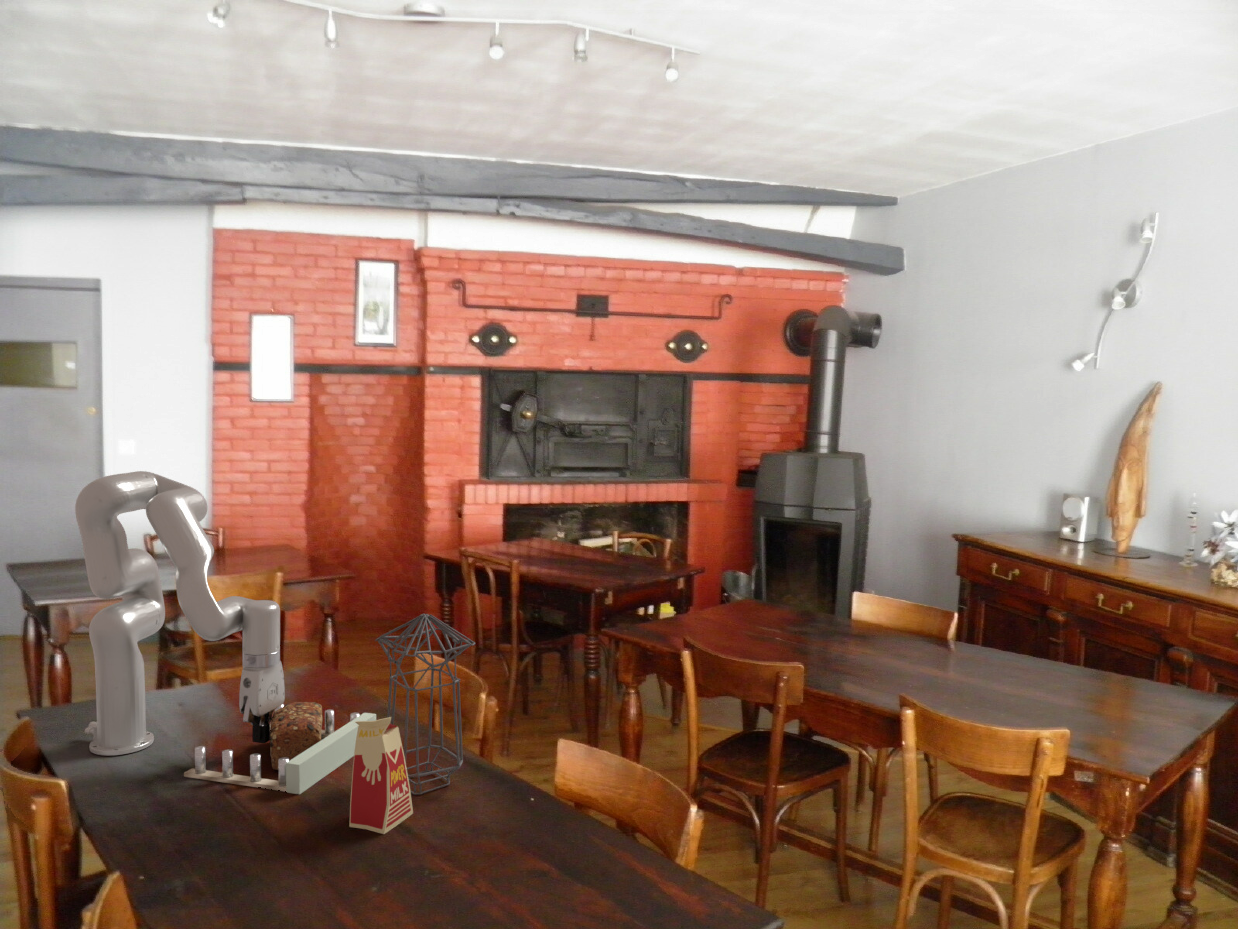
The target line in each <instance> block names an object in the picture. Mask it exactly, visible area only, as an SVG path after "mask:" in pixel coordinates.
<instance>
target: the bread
mask: <svg viewBox="0 0 1238 929" xmlns="http://www.w3.org/2000/svg"><path fill="white" fill-rule="evenodd" d="M270 724H271V725H270V726H271V731H270V740H269V749H270V750H269V751H270V754H269V755H270V756H269V757H271V759H270V760H271V767H272V770H275V771H279V765H278V760H279V759H280V758H283V757H288V758H289V761H290V760H291V759H293V758H295V757H296V756H298V755H299V754H301V753H302V752H304V751H305V750H307V749H309V748H310V747H312V746H313V745H315V744H316V743H318V742H319V741H321V740H322V738H321V730H323V729H322V727H323V706H322V704H320V703H318V702H309V701H295V702H287V703H286V704H284V706H283V707H282V708H280V709H278V710H276V711H275V710H274V711H273V714H272V720H271V722H270Z"/></svg>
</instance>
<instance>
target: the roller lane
mask: <svg viewBox="0 0 1238 929" xmlns="http://www.w3.org/2000/svg"><path fill="white" fill-rule="evenodd" d="M283 706H285V704H284V703H283V704H282V705H281V706H279V707H277V708H276V709H275V710H274V712H275V711H276V710H278V709H280V708H282V707H283ZM349 717H350V719H349V720H350V721H349V722H347V723H346V724H345V725H343V726H341V727H340V728H338V729H336V730H335V710H334V709H327V710H326V709H325V710H324V729H321V741H319V742H318V743H316V744H315V745H313V746H312V747H310V748H309V749H307V750H305V751H304V752H302V753H301V754H299V755H298V756H296V757H295V758H293V759H291V760H290V761H289V758H288V757H283V758H280V759H279V760H278V765H279V770H278V780H276V779H269V778H262V758H261V757H262V754H261V753H259V752H258V753H252V754H250V755H249V775H250V776H248V775H242V774H234V750H233V749H224V750H222V752H221V757H222V758H221V759H222V760H221V761H222V762H221V764H222V765H221V770H222V771H221V772H220V771H213V770H207V767H206V766H207V765H206V764H207V762H206V761H207V760H206V746H205V745H198V746H195V747H194V767H191V768H189V769H188V770H185V771H184V772H183V777H185V778H189V779H198V780H199V779H200V780H204V781H212V782H218V783H219V782H220V783H225V784H232V785H233V784H234V785H238V786H247V787H251V788H258V787H261V788H260V789H265V788H266V789H267V790H271V789H272V790H273V791H278V790H280V791H279V792H285V791H286V792H287V793H288V794H295V795H301V794H302V793H304V792H305V791H307V790H308V789H310V788H311V787H313V786H314V785H315V784H316V783H318V782H319V781H320V780H322V779H324V777H326V776H328V775H329V774H330V773H331V772H333V771H335V770H336V769H337V768H339V767H340V766H342V765H343V764H345V763H346V762H347V761H350V760H351V759H352V758H354V752H355V743H356V737H357V731H358V726H359V725H358V724H357V723H355V722H356V721H375V720H377V714H376V713H372V712H363V713H362V714H360V713H359V712H351V713H350V716H349ZM270 725H271V723H270ZM270 730H271V726H270Z"/></svg>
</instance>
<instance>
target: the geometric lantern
mask: <svg viewBox="0 0 1238 929" xmlns="http://www.w3.org/2000/svg"><path fill="white" fill-rule="evenodd" d="M407 626H408V627H407ZM435 626H436V627H435ZM405 627H407V628H406V629H404V631H402V633H400V635H392V634H393V633H395V632H397V631H399V630H401V629H403V628H405ZM428 627H429V629H428ZM415 628H416V630H415V631H414V629H415ZM413 631H414V633H413V634H411V633H412V632H413ZM436 631H441V632H442V634H443V636H444V638H445V641H446V643H447V645H448V647H449V648H448V649H445V647H444V644H443V643H442V641H441V640H440V637H439V636H438V634H437V632H436ZM423 635H425V638H424V639H423V640H422V641H421V639H422V636H423ZM432 635H433V636H434V637H435V640H436V642H437V644H438V645H439V646H440V648H441V650H432V649H431V641H430V638H431V636H432ZM408 638H411V640H410V641H409V643H408V644H407V641H408ZM416 638H417V641H416V646H415V647H412V645H413V643H414V641H415V640H416ZM449 638H451V641H452V642H453V647H452V643H451V641H450V640H449ZM391 639H394V640H391ZM399 640H400V641H399ZM374 641H375V642H378V644H379V645H380V647H381V648H382V650H383V651H384V653H385V655H386V656H387V661H388V662H389V685H388V686H389V687H388V697H387V698H388V699H387V700H388V702H387V713H386V714H387V715H386V718H388V717H391V722H390V724H393V725H395V724H394V722H395V721H394V720H395V711H396V698H397V685H399V686H400V687H402V688H403V689H405V690H406V700H405V702H406V703H405V717H404V718H405V719H404V739H403V741H404V742H403V752H404V756H405V762H406V763H407V754H408V753H413V752H415V764H414V765H412V766H411V765H410V766H408V767H406V768H407V771H408V770H411V769H414V768H415V772H416V773H414V774H408V779H409V783H411V784H412V785H413V791H412V789H410V792H411V795H414V796H418V795H424V794H427V793H429V792H431V791H432V792H433V791H435V790H438V789H440V788H444V787H447V786H450V783H451V775H452V774H454V773H455V772H457V771H458V770H459V769H460V768H461V767H462V764H463V762H464V754H463V753H464V751H463V735H462V734H463V732H462V730H463V729H462V712H461V711H462V707H461V688H460V687H461V684H460V682H461V678H458V677H457V656H461V655H462V653H463V652H464V651H465V650H467V649H469V648H470V647H473V646H474V645H476V642H475V641H473V640H472V639H470V638H469V637H467V636H466V635H464V634H462V633H461V632H459V631H458V630H456V629H455V628H453V627H451V626H450V625H448V624H447V623H446V622H445V623H444V621H442V620H440V619H439V618H437V617H436V616H434V615H433V614H428V613H422V614H420V615H418V616H416V617H414V618H413V619H410V620H409V621H407V622H405V623H403V624H401V625H400V626H397V627H395V628H394V629H392V630H389V631H388V632H386V633H383V634H381V635H379V637H377V638H376V639H375V640H374ZM398 641H399V642H398ZM403 643H404V646H403V645H402V644H403ZM425 643H427V650H420V649H421V647H422V646H423V645H424V644H425ZM463 643H465V644H463ZM385 645H387V647H385ZM457 645H459V646H457ZM394 646H395V647H394ZM399 648H400V649H402V650H398V649H399ZM390 649H391V651H390ZM457 650H458V651H457ZM410 651H414V652H413V653H412V654H409V652H410ZM390 652H391V654H392V656H391V655H390ZM395 653H397V654H400V657H398V658H397V659H396V657H395ZM453 653H454V654H453ZM425 654H427V655H429V656H430V660H431V662H429V661H428V659H427V658H426V657H425V656H424V655H425ZM437 654H438V655H439V654H444V661H443V662H439V663H436V664H434V655H437ZM452 654H453V655H452ZM420 655H421V656H420ZM405 657H413V658H415V657H416V658H417V659H418V660H420V661H421V662H423V663H425V664H426V665H428V667H427V668H423V669H418V670H412V671H407V672H403V671H402V669H401V665H402V662H403V658H405ZM452 660H454V675H453V672H452V671H451V668H450V666H449V664H448V663H450V661H452ZM392 663H393V664H394V665H395V666H396V670H395V673H394V674H393V675H392ZM437 667H440V668H437ZM444 667H446V669H447V671H446V670H444V669H443V668H444ZM428 671H430V672H431V673H430V675H431V676H430V687H429V686H428V687H424V688H416V687H417V685H418V684H419V683H420V681H421V680H422V679H423V677H424V676H425V674H427V672H428ZM420 672H423V673H422V674H421V676H420V677H419V678H418V680H417V682H416V683H415V684H414V686H413V687H410V686H409V684H408V682H407V680H406V677H405V675H410V674H415V673H420ZM435 672H438V685H434V683H435V682H434V680H435V675H434V674H435ZM442 673H443V674H445V675H447V676H449V677H450V679H451V681H452V682H450V683H444V684H443V682H442V680H443V679H442ZM398 676H400V677H401V679H402V681H403V683H404V684H402V683H400V682H399V681H398ZM447 686H452V701H453V702H452V704H453V716H454V732H455V734H454V735H455V749H456V750H455V752H456V754H455V753H453V752H452V751H450V750H449V749H447V748H446V747H444V726H443V725H444V723H443V720H444V718H443V687H447ZM436 688H438V692H439V693H438V696H439V697H438V698H439V732H440V734H439V735H440V737H439V738H440V745H436V744H435V745H434V744H432V730H433V729H432V726H433V724H432V723H433V706H434V705H433V704H434V702H433V700H434V699H433V698H434V689H436ZM429 689H430V694H429V695H430V698H429V716H428V717H429V721H428V723H429V724H428V739H427V740H428V741H427V745H423V746H419V719H418V717H419V715H418V710H419V709H418V705H419V704H418V692H421V691H426V690H429ZM392 690H393V693H392ZM456 690H457V691H456ZM410 691H411V692H414V728H415V730H414V733H415V736H414V737H415V748H412V749H408V732H409V730H408V729H409V728H408V727H409V713H410V712H409V710H410V709H409V707H410ZM456 692H457V694H456ZM392 694H393V696H392ZM456 696H457V698H456ZM391 706H392V707H391ZM431 748H432V749H438V751H437V753H436V755H435V756H434V757H433V760H432V761H431V762H430V750H431ZM425 749H427V756H426V761H425V762H422V763H420V762H419V761H420V760H419V757H420V756H419V751H420V750H425ZM442 751H444V752H445V753H447V754H448V755H450V756H452V757H453V758H455V759H456V765H453V766H449V767H444V768H443V767H441V766H439V765H438V764H437V763H434V762H435V761H436V760H437V758H438V756H439V754H440V752H442ZM424 765H425V770H423V771H420V766H424ZM428 765H430V769H429V768H428ZM434 767H436V768H438V769H436V770H434ZM443 772H445V773H446V774H444V775H442V774H440V773H443ZM434 774H435V775H436V776H437V777H434V778H430V779H425V780H423V781H421V780H420V777H421V778H422V777H425V776H429V775H430V776H431V775H434ZM411 778H417V782H415V781H413V780H412V779H411ZM439 779H440V780H441V779H442V780H444V781H446V783H445V784H442V785H438V786H436V787H432V788H430V789H428V790H427V789H426V790H423V791H422V787H423V786H422V784H426V783H428V782H432V781H435V780H436V781H437V780H439ZM417 786H419V792H417Z"/></svg>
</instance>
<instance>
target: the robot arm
mask: <svg viewBox="0 0 1238 929" xmlns="http://www.w3.org/2000/svg"><path fill="white" fill-rule="evenodd" d="M74 510H75V512H74V513H75V518H76V522H77V525H78V529H79V532H80V533H79V534H80V537H81V542H82V549H83V556H84V562H85V567H86V575H87V580H88V584H89V588H90V590H91V592H92V593H93V595H94V596H95V597H97V598H99V599H102V600H110V599H111V600H112V599H116V598H119V597H121V599H122V600H121V601H119V602H118V601H117V603H116V602H115V603H113V604H110V605H108V606H105V607H104V608H102V609H100V610H98V612H96V614H94V616H93V617H92V619H91V620H90V623H89V627H88V633H89V634H88V636H89V640H90V644H91V648H92V652H93V659H94V670H95V671H94V674H95V675H94V676H95V679H94V680H95V703H96V721H90V722H89V723H88V727H86V728H85V729H84V733H85V734H86V735H93V740H92V741H90V743H89V751H90V753H93V754H95V755H98V756H109V757H111V756H122V755H127V754H132V753H136V752H139V751H142V750H144V749H146V748H148V747H149V746H151V745H152V744H153V743H154V740H155V736H154V734H153V732H150V731H148V730H147V723H146V722H147V720H146V719H147V718H146V687H145V686H146V682H145V680H146V678H145V675H146V674H145V663H144V657H143V654H142V652H141V651H140V650H141V649H140V648H139V645H138V642H140V641H141V640H144V639H146V638H148V637H151V636H152V635H154V634H156V633H157V632H159V630H160V629H161V628H162V627H163V625H164V623H165V621H166V620H165V618H166V606H165V600H164V595H163V587H162V580H161V576H160V570H159V567H158V564H157V562H156V559H155V558H154V557H153V556H152V555H151V554H150V553H149V552H148V551H146V550H144V549H141V548H138V547H137V548H129V544H128V538H127V534H126V531H125V528H124V526H123V525H122V523H121V521H120V519H118V516H119V515H121V514H125V513H131V512H136V511H139V510H145V514H146V517H147V520H148V522H149V524H150V525H151V527H152V529H153V531H154V532H155V534H156V536H157V538H158V540H159V541H160V542H161V544H162V547H163V548H164V550H165V552H166V553H167V555H168V557H169V559H170V560H171V562H172V564H173V566H174V568H175V586H176V587H175V588H176V589H175V590H176V596H177V600H178V604H179V607H180V608H181V611H182V613H183V614H184V617H185V618H186V620H187V621H188V623H189V624H190V627H191V628H192V630H193V631H194V632H195V633H196V634H197V636H199V637H200V638H201V639H203V640H206V641H209V642H210V641H211V642H213V641H214V642H215V641H220V640H222V639H224V638H226V637H228V636H230V635H232V634H234V633H238V632H240V631H242V670H241V675H240V676H241V677H240V682H239V683H240V684H239V694H238V696H239V702H238V703H239V704H238V705H239V712H240V714H242V715H243V717H242V721H243V723H250V725H251V726H252V742H253V743H257V744H266V743H268V742H270V732H271V731H270V724H271V721H272V717H273V714H274V712H275V709H276V708H277V707H279V706H281V705H282V704H284V702H285V698H286V696H285V695H286V694H285V690H286V689H285V677H284V670H283V669H284V668H283V664H282V661H281V646H280V645H281V608H280V607H281V606H280V604H279V603H277V602H276V601H275V600H270V599H269V600H268V599H260V600H258V599H257V600H255V599H251V598H247V597H243V596H238V595H237V596H236V595H232V596H227V597H225V598H223V599H220V600H218V601H217V600H216V598H215V597H214V595H213V593H212V591H211V589H210V586H209V583H208V570H209V567H210V563H211V561H212V558H213V557H214V553H215V547H214V546H213V544H212V542H211V541H210V539H209V537H208V536H207V533H206V532H205V530H204V528H203V527H202V525H201V523H200V522H202V521H203V520H204V519H205V517H206V516H207V513H208V503H207V500H206V498H205V496H204V495H203V494H202V493H201V491H199V490H197V489H196V488H194V487H191V486H190V485H187V484H185V483H181V482H178V481H176V480H173V479H171V478H169V477H165V476H162V475H160V474H157V473H154V472H152V471H146V470H145V471H143V470H142V471H141V470H140V471H139V470H137V471H132V472H131V471H130V472H125V473H117V474H110V475H106V476H102V477H99V478H97V479H95V480H92V481H91V482H90V483H87V485H85V487H83V488H82V490H81V491H80V492H79V494H78V496H77V498H76V501H75V508H74Z"/></svg>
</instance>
